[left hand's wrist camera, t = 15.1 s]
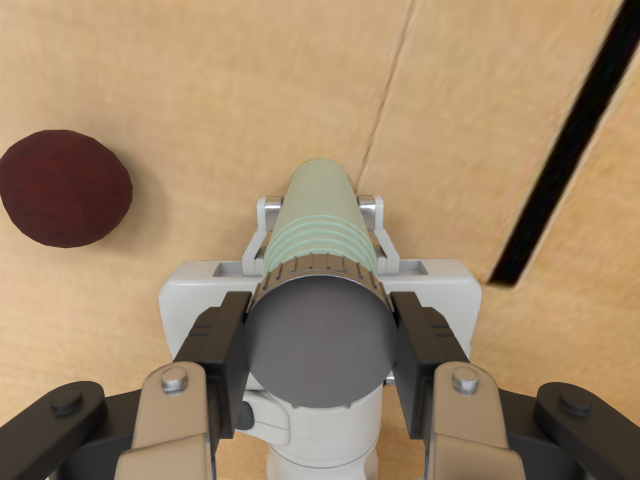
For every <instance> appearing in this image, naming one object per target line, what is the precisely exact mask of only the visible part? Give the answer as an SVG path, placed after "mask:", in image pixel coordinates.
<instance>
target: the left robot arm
mask: <svg viewBox="0 0 640 480" xmlns="http://www.w3.org/2000/svg"><path fill="white" fill-rule="evenodd" d="M252 295H253V294H252V291H228V292H227V293H226V295H225V297H224V299H223V302H222V304H221V306H220V307H209V308H208V309H206V310H205V311H204V312H202V313H201V314H200V315H198V317H197V319H196V321H195V323H194V324H193V328H191V330H190V332H189V333H188V336H187V337H186V339H185V341H184V342H183V344H182V346H181V348H180V350H179V351H178V353H177V355H176V357H175V359H174V360H173V362H172V363H170V364H167V365H164V366H162V367H160V368H158V369H156V370H155V371H153V372H152V373H151V374H150V375H149V376H148V377H147V378H146V379H145V381H144V383H143V386H142V389H139V390H136V391H132V392H128V393H123V394H119V395H114V396H110V397H105V394H104V390H103V388H102V386H101V385H99V384H98V383H95V382H91V381H79V382H73V383H69V384H66V385H63V386H60V387H58V388H56V389H54V390H52V391H50V392H48V393H47V394H45V395H44V396H42V397H41V398H40V399H38V400H37V401H36V402H34V403H33V404H32V405H30V406H29V407H28V408H26V409H25V410H23V411H22V412H21V413H19V414H18V415H17V416H15V417H14V418H13V419H11V420H10V421H9V422H7V423H6V424H5V425H3V426H2V427H0V480H45V479H46V478H47V477H49V480H217V466H216V456H215V453H216V450H217V447H218V443H219V440H220V439H233V435H234V431H235V427H236V423H237V419H238V416H239V412H240V408H241V404H242V400H243V396H244V392H245V388H246V384H247V380H248V376H249V372H250V371H249V369H248V367H247V359H246V346H245V333H244V322H245V319H246V316H247V315H246V311H247V308H248V305H249V302H250V299H251V296H252ZM389 296H390V299H391V301H392V304H393V307H394V310H395V314H394V317H395V320H396V323H397V326H398V334H397V347H396V360H395V364H394V366H393V368H392V373H393V376H394V380H395V384H396V388H397V392H398V395H399V399H400V403H401V407H402V411H403V415H404V418H405V422H406V426H407V430H408V434H409V437H410V439H423V441H424V445H425V456H424V466H423V480H640V427H638V426H637V425H635V424H634V423H633V422H631V421H630V420H629V419H627V418H626V417H625V416H623V415H622V414H621V413H619V412H618V411H617V410H615V409H614V408H612V407H611V406H610V405H608V404H607V403H606V402H604V401H603V400H602V399H600V398H599V397H597V396H596V395H594V394H593V393H591V392H589V391H587V390H585V389H583V388H581V387H578V386H575V385H572V384H568V383H562V382H551V383H546V384H544V385H542V386H541V387H540V388H539V390H538V393H537V397H536V398H535V397H531V396H526V395H522V394H517V393H513V392H509V391H505V390H502V389H500V388H498V386H497V383H496V381H495V379H494V378H493V377H492V376H491V375H490V374H489V373H488V372H487V371H485V370H484V369H482V368H480V367H478V366H476V365H473V364H471V363H470V361H469V360H468V358H467V356H466V354H465V352H464V351H463V349H462V347H461V345H460V344H459V342H458V340H457V338H456V337H455V336H454V333H453V331H452V329H451V328H450V326H449V324H448V322H447V321H446V319H445V317H444V316H443V315H442V314H441V313H439V312H438V311H437V310H435V309H434V308H433V307H422V306H421V304H420V301H419V299H418V297H417V295H416V293H415V292H414V291H391V292H390V294H389Z"/></svg>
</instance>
